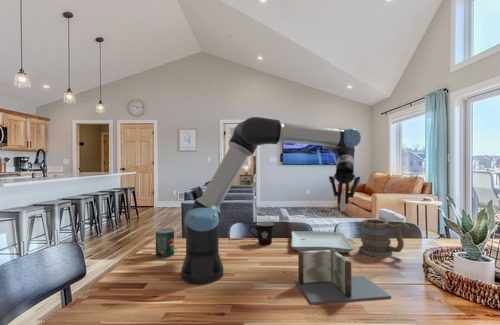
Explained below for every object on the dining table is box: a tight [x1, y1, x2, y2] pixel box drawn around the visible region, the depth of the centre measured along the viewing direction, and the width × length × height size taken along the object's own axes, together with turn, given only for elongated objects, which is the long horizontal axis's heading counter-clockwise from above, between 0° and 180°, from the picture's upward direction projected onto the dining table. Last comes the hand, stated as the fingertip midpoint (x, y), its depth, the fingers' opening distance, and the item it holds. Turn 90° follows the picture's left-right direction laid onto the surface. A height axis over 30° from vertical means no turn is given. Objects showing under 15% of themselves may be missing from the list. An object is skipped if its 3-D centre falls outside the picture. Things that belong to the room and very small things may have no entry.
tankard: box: [358, 218, 410, 258], centre depth 121 cm, size 20×13×15 cm, turn 44°
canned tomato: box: [155, 227, 175, 259], centre depth 121 cm, size 8×8×11 cm
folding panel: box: [333, 252, 352, 297], centre depth 86 cm, size 10×2×10 cm, turn 7°
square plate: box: [290, 230, 355, 254], centre depth 135 cm, size 27×27×4 cm
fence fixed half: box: [297, 249, 336, 284], centre depth 92 cm, size 13×2×10 cm, turn 98°
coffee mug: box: [248, 221, 275, 246], centre depth 138 cm, size 12×9×10 cm
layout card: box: [294, 275, 392, 305], centre depth 88 cm, size 25×15×1 cm, turn 98°
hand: (342, 209), depth 108 cm, fingers closed
